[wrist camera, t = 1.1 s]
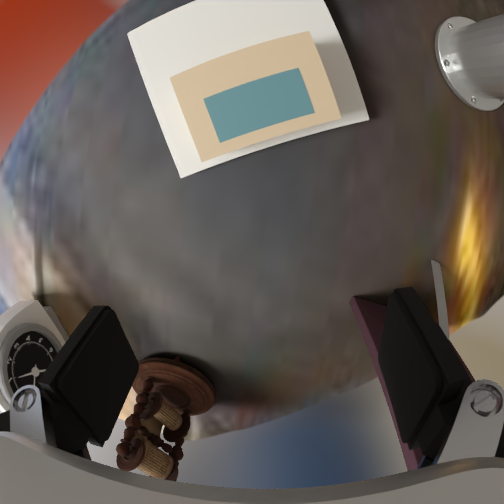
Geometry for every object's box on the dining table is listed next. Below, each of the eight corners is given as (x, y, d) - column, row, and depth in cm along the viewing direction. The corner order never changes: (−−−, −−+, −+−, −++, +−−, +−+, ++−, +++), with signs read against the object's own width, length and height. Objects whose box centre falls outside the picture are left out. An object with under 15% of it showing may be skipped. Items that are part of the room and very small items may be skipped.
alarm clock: (93, 366, 47) (48, 448, 28) (64, 363, 48) (20, 435, 29) (47, 286, 39) (-26, 365, 21) (21, 290, 40) (-45, 358, 22)
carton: (302, 45, 22) (309, 30, 18) (329, 119, 25) (341, 118, 21) (185, 84, 25) (169, 77, 20) (213, 155, 28) (201, 162, 23)
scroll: (118, 362, 45) (74, 453, 27) (180, 340, 41) (140, 458, 23) (170, 410, 50) (145, 496, 32) (233, 396, 46) (218, 500, 28)
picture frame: (349, 302, 36) (401, 484, 14) (385, 237, 32) (502, 408, 10) (433, 328, 38) (498, 460, 15) (468, 277, 34) (562, 400, 11)
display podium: (305, -22, 20) (307, -30, 18) (363, 119, 27) (369, 119, 25) (134, 37, 24) (127, 33, 22) (186, 174, 31) (181, 178, 29)
